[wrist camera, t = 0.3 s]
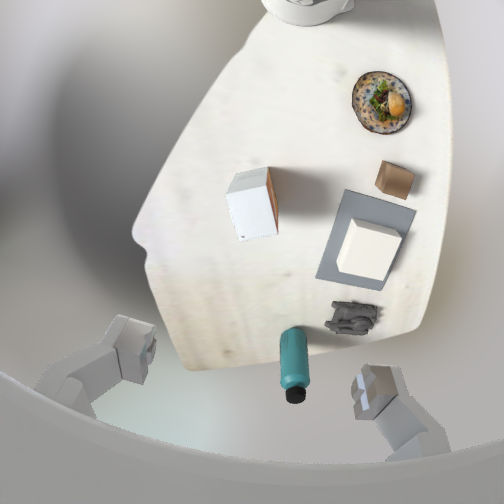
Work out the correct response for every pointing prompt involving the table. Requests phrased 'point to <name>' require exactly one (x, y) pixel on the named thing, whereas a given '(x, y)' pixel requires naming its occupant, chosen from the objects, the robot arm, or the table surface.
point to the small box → (253, 204)
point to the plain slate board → (369, 212)
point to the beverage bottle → (294, 365)
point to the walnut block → (394, 180)
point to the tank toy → (352, 318)
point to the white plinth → (368, 249)
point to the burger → (381, 102)
